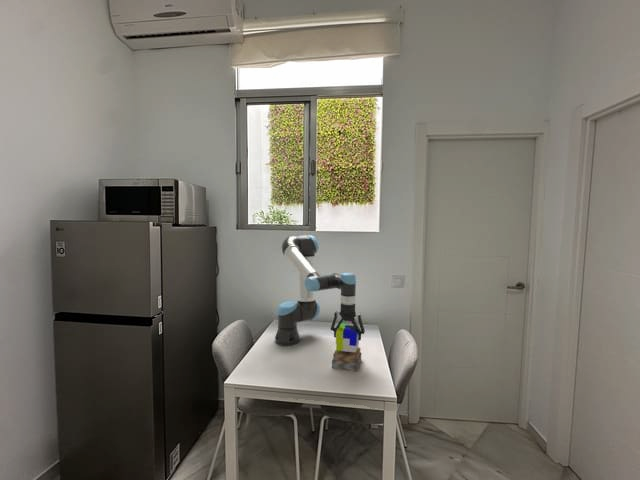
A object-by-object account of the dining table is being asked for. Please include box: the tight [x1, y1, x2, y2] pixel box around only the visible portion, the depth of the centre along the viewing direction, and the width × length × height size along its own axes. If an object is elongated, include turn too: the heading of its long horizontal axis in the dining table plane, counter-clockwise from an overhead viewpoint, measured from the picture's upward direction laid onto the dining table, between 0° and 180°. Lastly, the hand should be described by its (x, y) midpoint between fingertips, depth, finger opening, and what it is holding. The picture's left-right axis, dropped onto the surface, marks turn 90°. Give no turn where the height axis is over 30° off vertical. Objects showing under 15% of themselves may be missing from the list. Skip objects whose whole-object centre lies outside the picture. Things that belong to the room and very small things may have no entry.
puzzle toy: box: [335, 324, 358, 352], centre depth 159 cm, size 10×10×10 cm
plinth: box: [331, 346, 362, 373], centre depth 160 cm, size 13×13×7 cm
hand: (347, 344), depth 160 cm, fingers closed on puzzle toy, 10 cm apart
